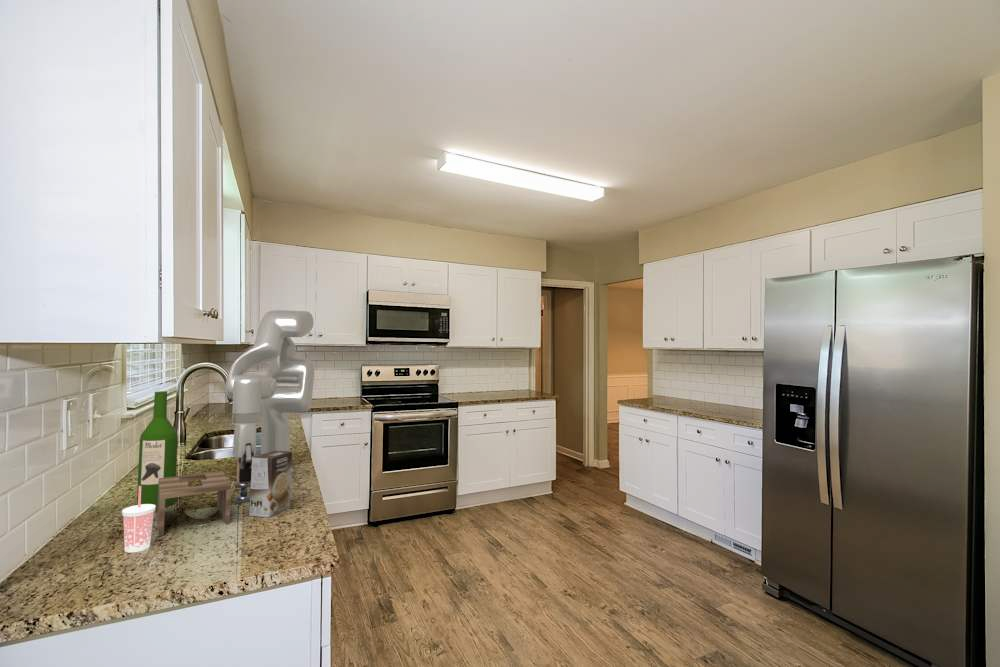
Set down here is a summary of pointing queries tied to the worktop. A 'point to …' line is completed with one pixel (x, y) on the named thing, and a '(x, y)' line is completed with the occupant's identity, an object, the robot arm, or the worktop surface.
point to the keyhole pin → (242, 487)
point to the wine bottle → (157, 453)
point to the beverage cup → (138, 526)
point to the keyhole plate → (194, 492)
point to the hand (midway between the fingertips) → (244, 479)
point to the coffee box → (270, 483)
